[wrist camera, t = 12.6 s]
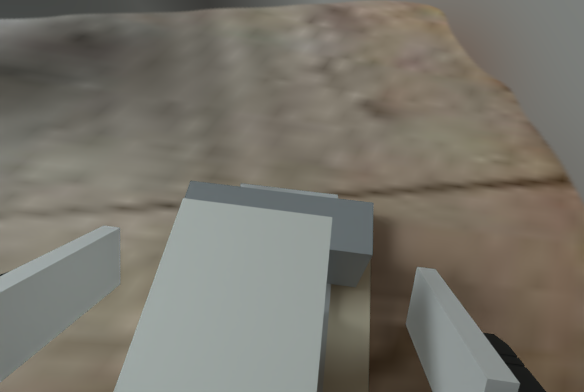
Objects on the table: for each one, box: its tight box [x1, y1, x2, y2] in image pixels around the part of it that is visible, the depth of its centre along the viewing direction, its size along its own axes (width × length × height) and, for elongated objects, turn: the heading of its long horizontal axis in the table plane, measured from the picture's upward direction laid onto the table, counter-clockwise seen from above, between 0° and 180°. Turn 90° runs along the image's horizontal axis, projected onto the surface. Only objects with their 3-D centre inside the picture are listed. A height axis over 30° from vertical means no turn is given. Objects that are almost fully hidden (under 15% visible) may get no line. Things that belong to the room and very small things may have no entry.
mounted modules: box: [185, 181, 373, 287], centre depth 17 cm, size 15×10×5 cm, turn 172°
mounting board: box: [240, 183, 371, 392], centre depth 20 cm, size 22×12×2 cm, turn 172°
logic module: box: [114, 198, 332, 392], centre depth 15 cm, size 6×5×11 cm
